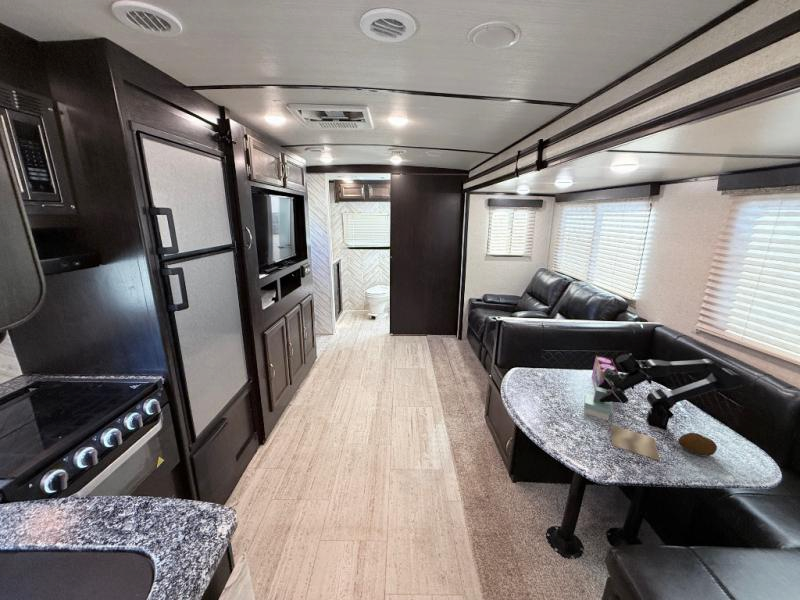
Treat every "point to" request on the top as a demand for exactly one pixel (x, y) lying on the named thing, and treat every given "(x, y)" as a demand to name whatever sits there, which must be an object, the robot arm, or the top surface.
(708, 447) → the potato
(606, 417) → the box
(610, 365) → the gum box
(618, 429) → the cork mat
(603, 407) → the lid
